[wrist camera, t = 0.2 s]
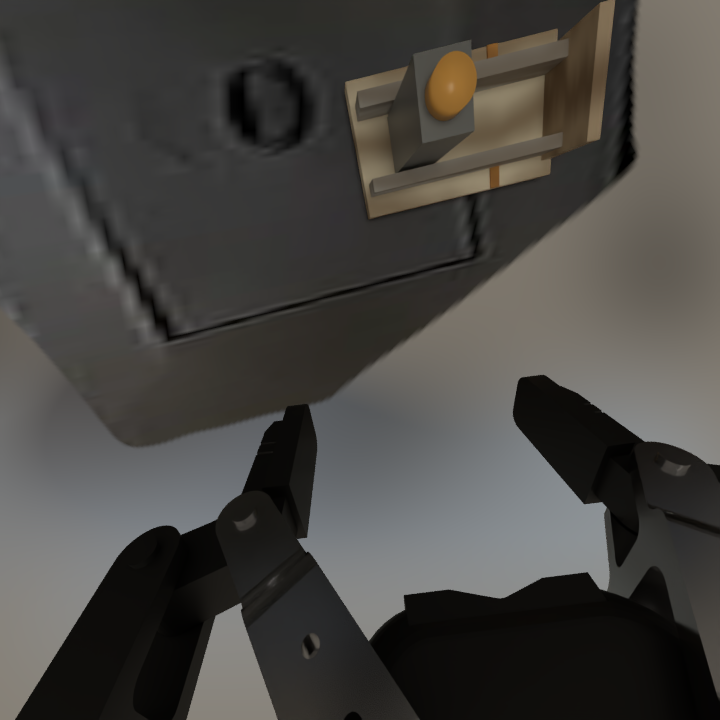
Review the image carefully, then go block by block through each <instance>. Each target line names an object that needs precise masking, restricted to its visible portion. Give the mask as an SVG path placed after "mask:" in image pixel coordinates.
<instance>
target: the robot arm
mask: <svg viewBox="0 0 720 720" xmlns="http://www.w3.org/2000/svg"><path fill="white" fill-rule="evenodd" d="M513 417H514V421H515V423H516V425H517V426H518V428H519V429H520V430H521V431H522V433H523V434H524V435H525V436H526V437H527V438H528V439H529V441H530V442H531V443H532V444H533V445H534V446H535V448H536V449H537V450H538V451H539V452H540V453H541V455H542V456H543V457H544V458H545V459H546V460H547V462H548V463H549V464H550V465H551V466H552V467H553V468H554V470H555V471H556V472H557V473H558V474H559V475H560V476H561V478H562V479H563V480H564V481H565V482H566V484H567V485H568V486H569V487H570V488H571V489H572V491H573V492H574V493H575V494H576V495H577V496H578V497H579V499H580V500H581V501H582V502H583V503H584V504H590V503H598V502H603V504H604V505H605V506H606V507H607V509H606V511H605V513H604V519H605V529H606V539H607V550H608V560H609V571H610V579H609V586H608V590H607V591H604V590H600V589H599V588H598V587H597V585H596V584H595V582H594V581H593V579H592V578H591V576H590V575H589V574H588V572H586V573H578V574H570V575H562V576H554V577H546V578H541V579H540V580H538V581H536V582H534V583H532V584H530V585H528V586H526V587H524V588H523V589H521V590H519V591H517V592H515V593H513V594H511V595H509V596H508V597H505V598H501V599H499V598H492V597H487V596H480V595H476V594H470V593H464V592H459V591H454V590H442V591H434V592H426V593H417V594H410V595H404V604H405V610H404V611H402V612H400V613H398V614H396V615H395V616H393V617H392V618H391V619H389V620H388V621H387V622H386V623H384V624H383V626H381V627H380V629H378V630H377V632H376V633H375V634H374V635H373V637H372V638H371V639H370V640H369V641H368V640H367V638H366V637H365V635H364V634H363V632H362V631H361V629H360V628H359V626H358V625H357V623H356V622H355V620H354V618H353V617H352V615H351V614H350V612H349V611H348V609H347V608H346V606H345V605H344V603H343V602H342V600H341V599H340V597H339V596H338V594H337V592H336V591H335V590H334V588H333V586H332V585H331V583H330V582H329V580H328V579H327V577H326V576H325V574H324V573H323V571H322V570H321V568H320V567H319V565H318V564H317V562H316V561H315V559H314V558H313V556H312V555H311V554H310V553H309V552H307V553H306V552H305V551H304V549H303V548H302V546H301V545H300V543H299V541H298V540H297V539H300V538H307V532H308V524H309V516H310V507H311V498H312V490H313V481H314V472H315V464H316V456H317V439H316V433H315V429H314V425H313V421H312V417H311V413H310V409H309V406H308V404H302V405H294V406H288V407H287V408H286V411H285V414H284V417H283V421H275V422H273V424H272V425H271V426H270V427H269V428H268V429H267V430H266V431H265V433H264V436H263V439H262V441H261V445H260V447H259V449H258V452H257V455H256V457H255V460H254V463H253V465H252V468H251V471H250V473H249V476H248V478H247V481H246V484H245V486H244V489H243V492H242V494H241V495H239V496H238V497H236V498H234V499H233V500H232V501H231V502H229V503H228V504H227V505H226V506H225V508H224V509H223V510H222V512H221V513H220V515H219V517H218V519H217V520H215V521H213V522H211V523H209V524H206V525H204V526H202V527H199V528H197V529H194V530H192V531H190V532H187V533H185V534H182V535H180V533H179V532H178V530H177V529H176V528H175V527H172V526H160V527H156V528H153V529H151V530H149V531H147V532H145V533H144V534H142V535H140V536H139V537H137V538H136V539H135V540H133V541H132V542H131V543H130V544H129V545H128V546H127V547H126V548H125V549H124V550H123V551H122V552H121V553H120V555H119V556H118V557H117V559H116V560H115V562H114V563H113V565H112V566H111V568H110V569H109V571H108V573H107V574H106V576H105V577H104V579H103V581H102V582H101V584H100V585H99V587H98V589H97V590H96V592H95V593H94V595H93V597H92V598H91V600H90V601H89V603H88V604H87V606H86V608H85V609H84V611H83V612H82V614H81V616H80V617H79V619H78V620H77V622H76V624H75V625H74V627H73V628H72V630H71V632H70V633H69V635H68V636H67V638H66V640H65V641H64V643H63V644H62V646H61V647H60V649H59V651H58V652H57V654H56V656H55V657H54V659H53V660H52V662H51V663H50V665H49V667H48V668H47V670H46V671H45V673H44V675H43V676H42V678H41V679H40V681H39V682H38V684H37V686H36V687H35V689H34V690H33V692H32V694H31V695H30V697H29V698H28V701H27V702H26V703H25V705H24V706H23V708H22V710H21V711H20V713H19V714H18V716H17V718H16V719H15V720H186V719H187V715H188V712H189V708H190V704H191V700H192V697H193V694H194V690H195V687H196V683H197V679H198V676H199V673H200V669H201V665H202V662H203V658H204V654H205V651H206V648H207V644H208V640H209V637H210V633H211V630H212V626H213V623H214V619H215V616H216V615H218V614H220V613H222V612H224V611H225V610H227V609H229V608H231V607H233V606H235V605H237V604H239V603H242V608H243V609H242V610H241V613H242V617H243V621H244V624H245V627H246V630H247V633H248V636H249V639H250V641H251V644H252V647H253V650H254V653H255V656H256V659H257V661H258V664H259V667H260V670H261V673H262V676H263V679H264V681H265V684H266V687H267V690H268V693H269V696H270V698H271V701H272V704H273V707H274V710H275V713H276V716H277V718H278V720H720V465H713V464H706V463H705V462H704V461H703V460H701V459H700V458H698V457H697V456H695V455H693V454H692V453H689V452H687V451H685V450H683V449H681V448H678V447H675V446H672V445H669V444H665V443H660V442H644V441H643V440H642V439H640V438H639V437H637V436H636V435H635V434H633V433H632V432H631V431H629V430H628V429H626V428H625V427H624V426H622V425H621V424H619V423H618V422H617V421H615V420H614V419H612V418H611V417H610V416H608V415H607V414H605V413H602V412H601V410H600V409H599V408H597V407H596V406H594V405H591V404H590V402H589V401H588V400H586V399H585V398H583V397H582V396H581V395H579V394H578V393H576V392H573V391H571V390H569V389H566V388H564V387H562V386H559V385H558V384H556V383H555V382H554V381H552V380H551V379H550V378H548V377H547V376H545V375H538V376H530V377H522V378H520V379H519V381H518V385H517V391H516V396H515V402H514V408H513Z"/></svg>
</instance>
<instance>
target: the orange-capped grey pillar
mask: <svg viewBox="0 0 720 720" xmlns="http://www.w3.org/2000/svg"><path fill="white" fill-rule="evenodd" d="M476 83H477V73H476V68H475V65H474V63H473V61H472V51H471V40H467V41H463V42H459V43H455V44H451V45H448V46H444V47H440V48H436V49H432V50H428V51H424V52H420V53H416V54H413V56H412V58H411V61H410V63H409V66H408V68H407V70H406V73H405V75H404V78H403V80H402V83H401V85H400V88H399V90H398V92H397V95H396V97H395V100H394V102H393V105H392V107H391V110H390V112H389V114H388V117H387V119H388V126H389V133H390V140H391V147H392V154H393V161H394V168H395V173H399V172H403V171H407V170H411V169H415V168H419V167H423V166H427V165H431V164H434V163H436V162H437V161H438V160H439V159H441V158H442V157H443V156H444V155H445V154H447V153H448V152H449V151H450V150H452V149H453V148H454V147H455V146H457V145H458V144H459V143H460V142H461V141H463V140H464V139H465V138H466V137H468V136H469V135H470V134H471V133H472V132H474V131H475V125H474V101H473V94H474V92H475V88H476Z"/></svg>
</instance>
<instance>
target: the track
mask: <svg viewBox="0 0 720 720" xmlns="http://www.w3.org/2000/svg"><path fill="white" fill-rule="evenodd" d="M614 6H615V0H609V1H605V2H601V3H599V4H598V5H597V6H596V7H595V8H594V9H593V10H592V11H590V12H589V13H588V14H587V15H586V16H585V17H584V18H583V19H582V20H581V21H580V22H578V23H577V24H576V25H575V26H574V27H573V28H572V29H571V30H570V31H569V32H567V33H566V34H565V35H564V36H563V37H562V38H561V39H560V40H559V41H557V34H558V29H554V30H550V31H546V32H542V33H538V34H534V35H530V36H526V37H522V38H518V39H514V40H510V41H506V42H503V43H499V44H498V43H494V44H490V45H487V47H483V48H479V49H475V50H471V51H472V61H473V63H474V65H475V68H476V73H477V83H476V88H475V92H474V94H473V101H474V125H475V131H474V132H472V133H471V134H470V135H469V136H468V137H466V138H465V139H464V140H463V141H461V142H460V143H459V144H458V145H457V146H455V147H454V148H453V149H452V150H450V151H449V152H448V153H447V154H445V155H444V156H443V157H442V158H441V159H439V160H438V161H437V162H436V163H434V164H431V165H427V166H423V167H419V168H415V169H411V170H407V171H403V172H399V173H395V168H394V161H393V154H392V147H391V140H390V133H389V126H388V119H387V117H388V114H389V112H390V110H391V107H392V105H393V102H394V100H395V97H396V95H397V92H398V90H399V88H400V85H401V83H402V80H403V78H404V75H405V73H406V70H407V68H408V66H407V67H403V68H399V69H395V70H391V71H387V72H383V73H380V74H376V75H372V76H368V77H364V78H360V79H356V80H352V81H348V82H345V97H346V102H347V108H348V113H349V118H350V124H351V129H352V134H353V140H354V145H355V150H356V156H357V161H358V166H359V172H360V177H361V182H362V188H363V193H364V198H365V204H366V209H367V214H368V220H369V219H373V218H377V217H381V216H385V215H389V214H393V213H397V212H401V211H405V210H410V209H414V208H418V207H422V206H426V205H430V204H434V203H438V202H442V201H446V200H450V199H454V198H458V197H462V196H466V195H471V194H475V193H479V192H483V191H487V190H491V189H495V188H499V187H503V186H507V185H511V184H515V183H519V182H523V181H528V180H532V179H536V178H539V177H542V176H545V175H549V174H550V167H551V158H553V157H556V156H558V155H561V154H563V153H566V152H568V151H571V150H573V149H576V148H578V147H581V146H583V145H586V144H589V143H591V142H594V141H596V140H599V139H600V133H601V124H602V115H603V106H604V97H605V88H606V79H607V70H608V60H609V51H610V42H611V33H612V24H613V15H614Z"/></svg>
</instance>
